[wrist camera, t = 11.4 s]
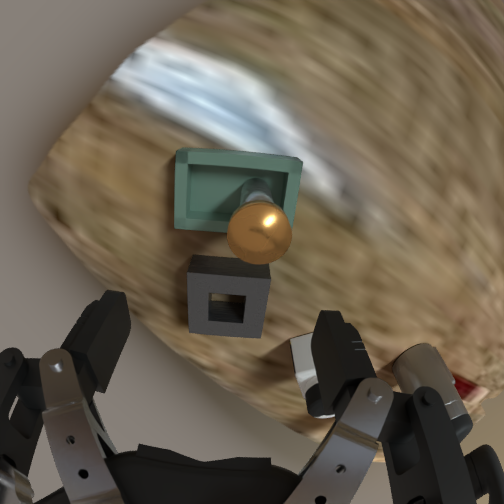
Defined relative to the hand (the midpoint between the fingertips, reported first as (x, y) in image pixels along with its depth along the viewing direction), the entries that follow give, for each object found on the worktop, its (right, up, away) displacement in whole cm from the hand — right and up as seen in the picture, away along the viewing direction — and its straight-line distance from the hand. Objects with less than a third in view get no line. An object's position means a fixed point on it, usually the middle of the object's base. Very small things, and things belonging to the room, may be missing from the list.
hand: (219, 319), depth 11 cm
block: (-2, -2, +24) cm, 24 cm away
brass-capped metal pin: (+2, +9, +18) cm, 20 cm away
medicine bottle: (+11, -12, +30) cm, 34 cm away
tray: (0, +10, +18) cm, 21 cm away
